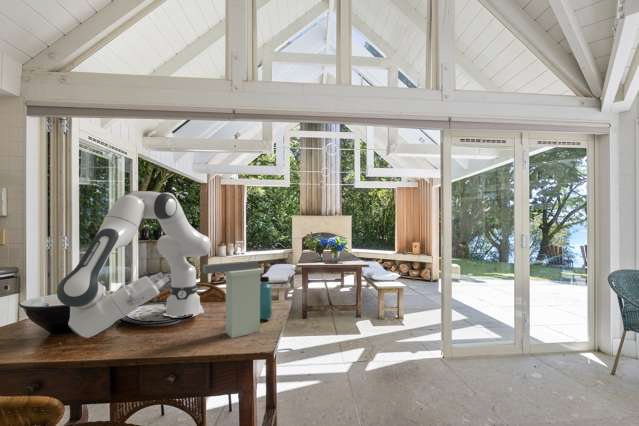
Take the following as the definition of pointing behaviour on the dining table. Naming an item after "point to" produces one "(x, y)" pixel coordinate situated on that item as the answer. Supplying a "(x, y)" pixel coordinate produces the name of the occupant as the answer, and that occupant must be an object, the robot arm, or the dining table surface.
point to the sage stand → (243, 302)
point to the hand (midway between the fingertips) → (165, 275)
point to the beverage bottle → (265, 299)
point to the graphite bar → (230, 267)
